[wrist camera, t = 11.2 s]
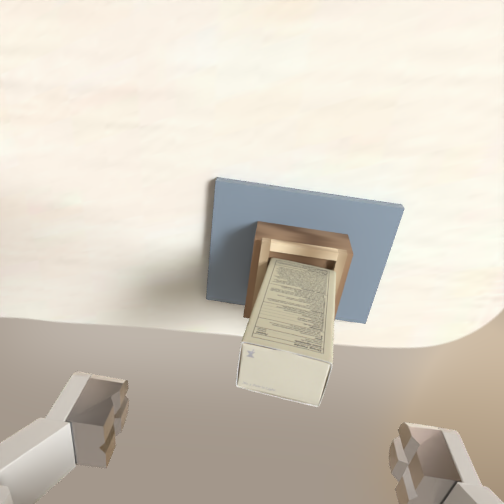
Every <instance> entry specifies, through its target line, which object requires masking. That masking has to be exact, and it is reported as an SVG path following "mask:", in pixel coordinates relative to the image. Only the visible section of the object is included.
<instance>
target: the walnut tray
mask: <svg viewBox="0 0 504 504" xmlns="http://www.w3.org/2000/svg"><path fill="white" fill-rule="evenodd" d="M271 258H278V259H283V260H289V261H293V262H298V263H302V264H307V265H312V266H316V267H320V268H324V269H329V270H333V271H335V272H336V289H335V315H334V320H335V317H336V313H337V310H338V306H339V303H340V299H341V296H342V292H343V289H344V285H345V282H346V278H347V275H348V271H349V268H350V264H351V261H352V258H353V251H352V247H351V244H350V240H349V236H348V234H342V233H335V232H328V231H322V230H315V229H308V228H302V227H295V226H288V225H281V224H275V223H268V222H261V221H258V222H257V228H256V233H255V239H254V246H253V253H252V260H251V267H250V274H249V281H248V288H247V295H246V302H245V309H244V316H243V317H245V318H250V316H251V313H252V310H253V307H254V304H255V302H256V299H257V296H258V293H259V291H260V288H261V285H262V282H263V280H264V277H265V274H266V271H267V268H268V265H269V262H270V260H271Z"/></svg>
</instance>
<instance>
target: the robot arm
mask: <svg viewBox="0 0 504 504" xmlns="http://www.w3.org/2000/svg"><path fill="white" fill-rule="evenodd" d="M127 391H128V381H127V380H122V379H117V378H112V377H107V376H101V375H96V374H89V373H83V372H75V373H74V374H73V375H72V376H71V377H70V378H69V380H68V382H67V383H66V385H65V387H64V388H63V390H62V391H61V393H60V395H59V396H58V398H57V399H56V401H55V403H54V405H53V406H52V408H51V409H50V411H49V412H48V414H47V416H46V417H45V418H44V419H43V418H38V419H37V420H35V421H34V422H32V423H31V424H29V425H28V426H26V427H24V428H23V429H21V430H20V431H18V432H16V433H15V434H13V435H12V436H10V437H8V438H7V439H5V440H4V441H2V442H0V504H35V503H36V502H37V501H38V500H39V499H40V498H42V497H43V496H44V495H45V494H46V493H47V492H48V491H49V490H50V489H52V488H53V487H54V486H55V485H56V484H57V483H58V482H59V481H60V480H62V479H63V477H65V476H66V475H67V474H68V473H69V472H70V471H72V470H73V469H74V468H75V467H76V465H84V466H91V467H99V468H107V466H108V464H109V461H110V459H111V456H112V454H113V451H114V449H115V446H116V445H115V444H116V443H115V436H117V435H118V434H119V433H121V431H122V429H123V427H124V424H125V421H126V417H127V413H128V407H129V399H128V398H127V396H126V393H127ZM398 432H399V437H397V438H395V439H394V440H393V441H392V443H391V446H390V450H389V465H390V469H391V473H392V475H393V476H394V477H395V478H396V479H397V481H398V485H397V486H396V489H395V490H396V494H397V498H398V502H399V504H504V503H503V502H502V501H501V500H500V499H499V498H498V497H497V496H496V495H495V494H494V493H493V492H492V491H491V490H490V489H489V488H488V487H486V486H482V484H481V482H480V480H479V477H478V475H477V473H476V471H475V468H474V467H473V464H472V462H471V459H470V457H469V455H468V453H467V450H466V448H465V446H464V444H463V441H462V439H461V437H460V435H459V433H458V432H457V431H456V430H450V429H444V428H437V427H433V426H427V425H419V424H411V423H403V424H401V425H400V427H399V429H398Z"/></svg>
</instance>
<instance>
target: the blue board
mask: <svg viewBox="0 0 504 504" xmlns="http://www.w3.org/2000/svg"><path fill="white" fill-rule="evenodd" d="M403 211H404V207H403V206H402V205H401V204H394V203H387V202H381V201H374V200H367V199H360V198H354V197H347V196H340V195H333V194H327V193H320V192H313V191H306V190H300V189H293V188H286V187H279V186H273V185H266V184H259V183H252V182H246V181H239V180H232V179H225V178H219V177H217V179H216V182H215V195H214V207H213V220H212V232H211V245H210V257H209V270H208V282H207V294H206V299H207V300H214V301H220V302H227V303H233V304H240V305H245V302H246V295H247V288H248V281H249V274H250V267H251V260H252V253H253V246H254V239H255V233H256V228H257V222H258V221H261V222H268V223H275V224H281V225H288V226H295V227H302V228H308V229H315V230H322V231H328V232H335V233H342V234H348V236H349V240H350V244H351V247H352V251H353V258H352V261H351V264H350V268H349V271H348V275H347V278H346V282H345V285H344V289H343V292H342V296H341V299H340V303H339V306H338V310H337V313H336V317H335V319H337V320H344V321H350V322H357V323H363V324H365V323H366V321H367V318H368V315H369V312H370V309H371V306H372V303H373V300H374V297H375V294H376V291H377V288H378V285H379V282H380V279H381V276H382V273H383V270H384V267H385V264H386V262H387V259H388V256H389V253H390V250H391V247H392V244H393V241H394V238H395V235H396V232H397V229H398V226H399V223H400V220H401V217H402V214H403Z"/></svg>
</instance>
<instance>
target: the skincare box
mask: <svg viewBox="0 0 504 504" xmlns="http://www.w3.org/2000/svg"><path fill="white" fill-rule="evenodd" d="M335 289H336V272H335V271H333V270H329V269H324V268H320V267H316V266H312V265H307V264H302V263H298V262H293V261H289V260H283V259H278V258H271V260H270V262H269V265H268V268H267V271H266V274H265V277H264V280H263V282H262V285H261V288H260V291H259V293H258V296H257V299H256V302H255V304H254V307H253V310H252V313H251V316H250V319H249V322H248V324H247V327H246V330H245V333H244V336H243V338H242V341H241V347H240V353H239V359H238V367H237V377H236V386H237V387H240V388H244V389H247V390H250V391H254V392H258V393H262V394H266V395H270V396H274V397H278V398H282V399H286V400H290V401H294V402H299V403H302V404H307V405H311V406H316V407H319V406H320V403H321V400H322V398H323V395H324V392H325V389H326V386H327V383H328V380H329V377H330V373H331V370H332V366H333V341H334V315H335Z"/></svg>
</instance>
